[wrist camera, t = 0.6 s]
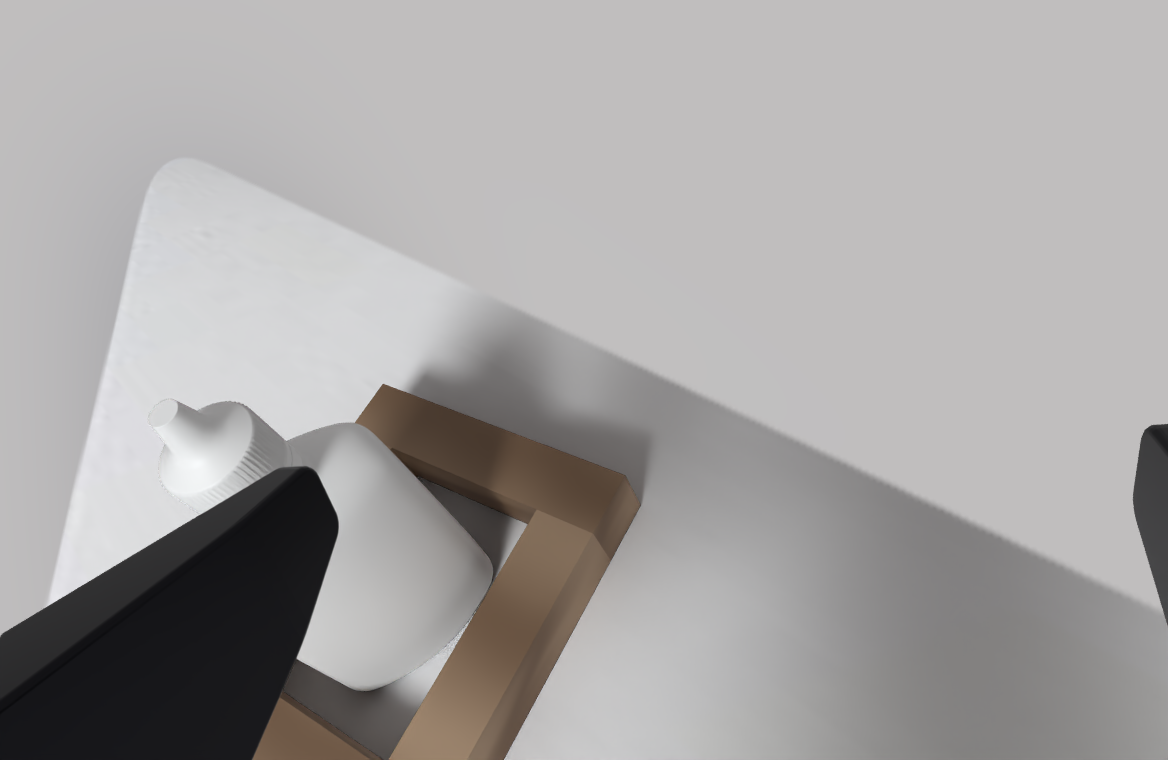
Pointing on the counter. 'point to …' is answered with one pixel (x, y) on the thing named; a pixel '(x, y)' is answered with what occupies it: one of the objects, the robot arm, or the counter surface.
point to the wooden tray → (517, 596)
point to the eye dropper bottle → (342, 536)
